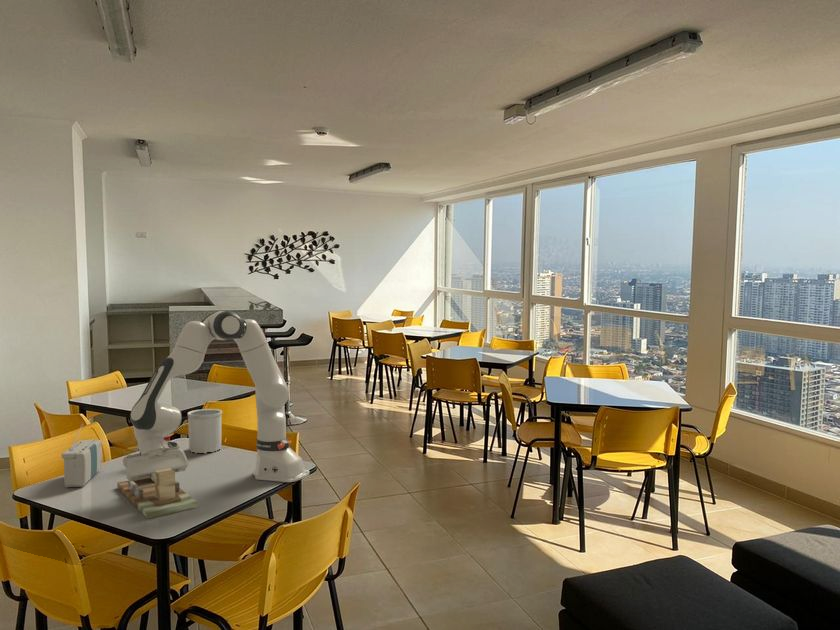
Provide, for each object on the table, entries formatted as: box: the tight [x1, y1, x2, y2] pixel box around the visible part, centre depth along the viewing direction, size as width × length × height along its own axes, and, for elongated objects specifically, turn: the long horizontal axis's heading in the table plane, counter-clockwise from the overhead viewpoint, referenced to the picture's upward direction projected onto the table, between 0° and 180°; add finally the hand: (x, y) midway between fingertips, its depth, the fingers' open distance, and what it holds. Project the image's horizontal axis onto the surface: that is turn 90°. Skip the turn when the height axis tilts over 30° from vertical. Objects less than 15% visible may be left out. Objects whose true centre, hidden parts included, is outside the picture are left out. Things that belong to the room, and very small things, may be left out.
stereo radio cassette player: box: [61, 423, 103, 488], centre depth 232 cm, size 21×8×20 cm, turn 11°
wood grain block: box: [149, 468, 181, 506], centre depth 206 cm, size 8×8×10 cm
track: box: [116, 477, 198, 519], centre depth 214 cm, size 37×16×5 cm, turn 40°
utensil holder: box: [187, 408, 223, 454], centre depth 275 cm, size 15×15×18 cm
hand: (162, 485), depth 208 cm, fingers closed, pressing on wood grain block
